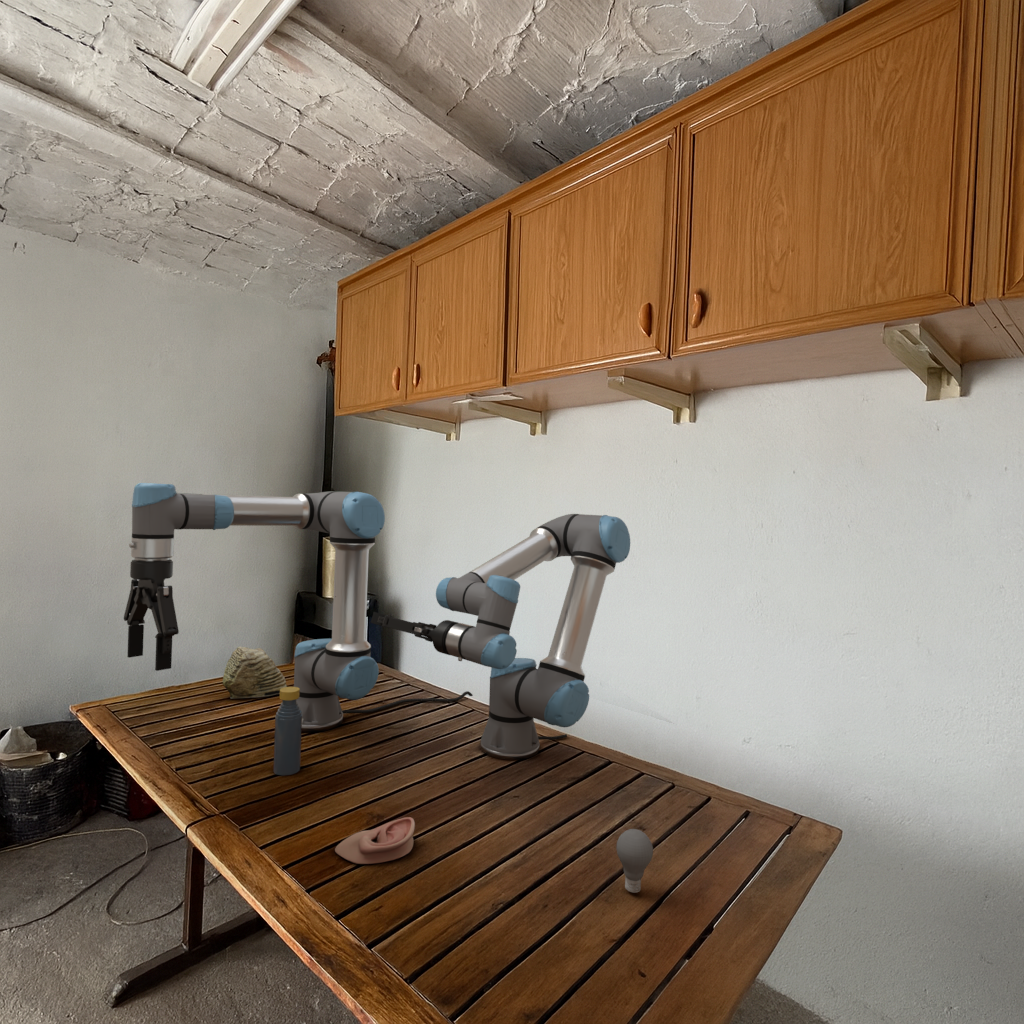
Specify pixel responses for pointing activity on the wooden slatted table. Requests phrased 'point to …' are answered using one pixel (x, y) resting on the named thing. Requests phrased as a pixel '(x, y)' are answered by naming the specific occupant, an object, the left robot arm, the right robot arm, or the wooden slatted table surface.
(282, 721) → the bottle
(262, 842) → the wooden slatted table surface
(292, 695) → the cap
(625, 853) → the light bulb
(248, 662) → the fossil
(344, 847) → the anatomical model
